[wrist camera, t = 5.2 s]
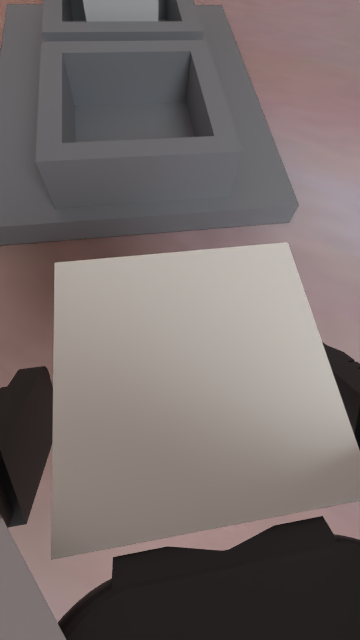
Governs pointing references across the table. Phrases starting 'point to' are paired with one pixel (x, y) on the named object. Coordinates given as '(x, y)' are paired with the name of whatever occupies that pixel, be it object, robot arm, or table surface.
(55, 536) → the tall white pillar
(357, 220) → the table surface
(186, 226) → the housing
